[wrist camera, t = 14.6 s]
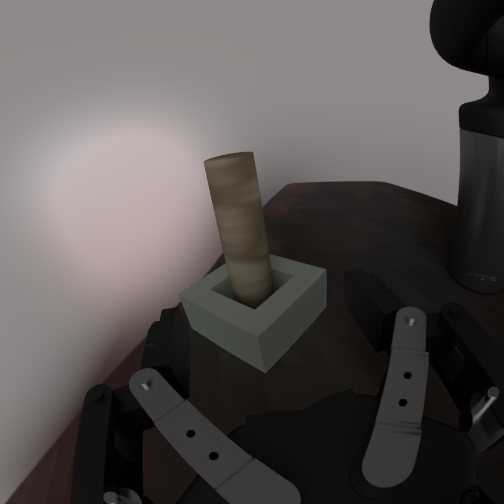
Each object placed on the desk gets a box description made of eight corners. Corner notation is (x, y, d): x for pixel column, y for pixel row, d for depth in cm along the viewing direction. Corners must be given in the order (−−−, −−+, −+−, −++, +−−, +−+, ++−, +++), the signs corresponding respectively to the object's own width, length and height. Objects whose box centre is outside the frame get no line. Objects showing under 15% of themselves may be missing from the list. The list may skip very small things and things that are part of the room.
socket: (254, 281, 33) (248, 248, 31) (326, 306, 27) (326, 269, 25) (191, 328, 27) (178, 294, 25) (265, 373, 21) (257, 336, 19)
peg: (257, 303, 29) (229, 152, 22) (285, 314, 27) (263, 150, 20) (233, 323, 27) (194, 163, 20) (261, 337, 25) (227, 161, 17)
